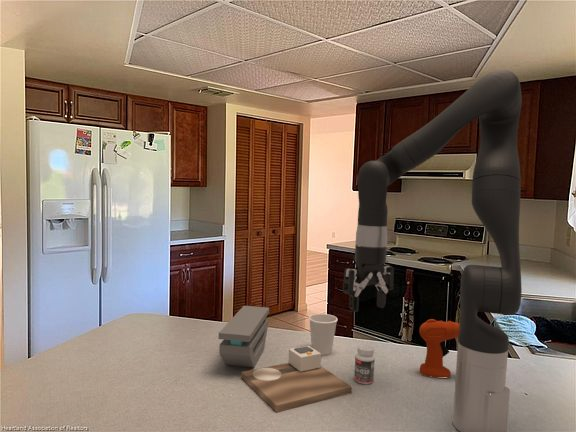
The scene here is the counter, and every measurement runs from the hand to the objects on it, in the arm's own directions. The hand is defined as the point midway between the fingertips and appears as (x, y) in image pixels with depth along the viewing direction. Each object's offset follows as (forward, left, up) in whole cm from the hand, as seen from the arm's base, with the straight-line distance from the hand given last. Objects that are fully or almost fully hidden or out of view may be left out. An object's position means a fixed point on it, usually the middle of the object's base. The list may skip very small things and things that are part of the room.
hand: (367, 309), depth 107 cm
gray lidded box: (+25, +21, -18) cm, 37 cm away
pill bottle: (0, 0, -18) cm, 18 cm away
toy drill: (-8, -23, -18) cm, 30 cm away
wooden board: (+5, +17, -18) cm, 25 cm away
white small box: (+11, +11, -16) cm, 22 cm away
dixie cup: (+20, -1, -18) cm, 27 cm away
